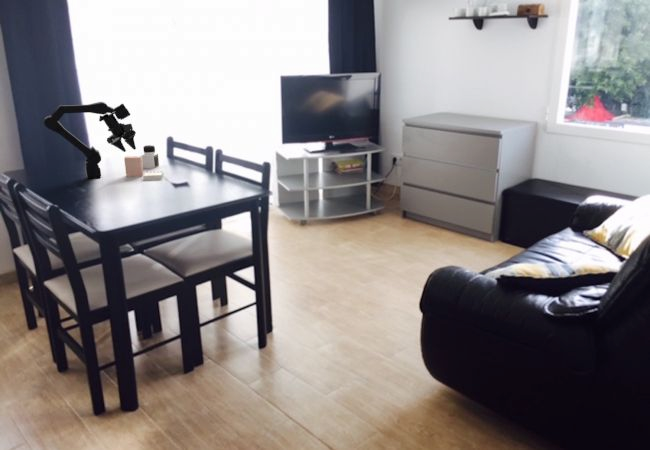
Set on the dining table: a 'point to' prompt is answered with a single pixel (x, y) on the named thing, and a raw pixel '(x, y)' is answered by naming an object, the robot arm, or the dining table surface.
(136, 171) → the pink rectangular block
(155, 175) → the board
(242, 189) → the dining table surface
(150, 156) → the medicine bottle
